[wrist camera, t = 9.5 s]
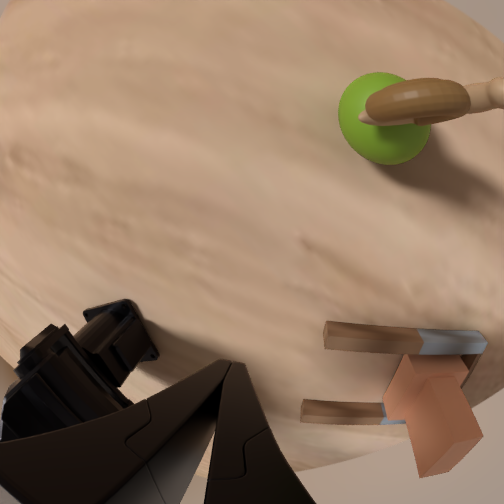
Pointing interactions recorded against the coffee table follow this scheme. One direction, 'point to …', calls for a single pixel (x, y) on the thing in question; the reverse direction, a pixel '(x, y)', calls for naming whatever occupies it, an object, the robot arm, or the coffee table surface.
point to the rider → (433, 410)
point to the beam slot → (391, 343)
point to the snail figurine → (406, 112)
